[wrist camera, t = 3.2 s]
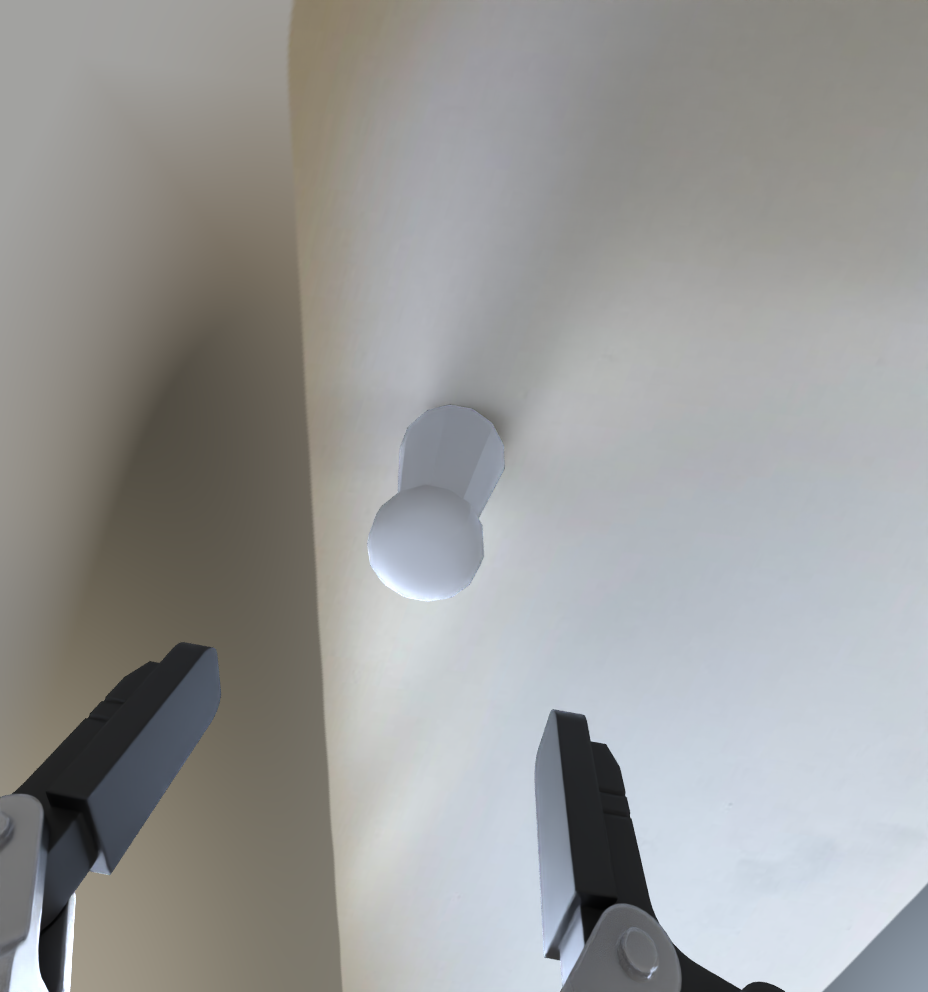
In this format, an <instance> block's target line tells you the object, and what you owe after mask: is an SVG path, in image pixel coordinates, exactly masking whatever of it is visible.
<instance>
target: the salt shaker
mask: <svg viewBox="0 0 928 992" xmlns="http://www.w3.org/2000/svg"><path fill="white" fill-rule="evenodd" d="M504 469H505V464H504V445H503V443H502V441H501V439H500V437H499V435H498V433H497V431H496V429H495V427H494V425H493V423H492V422H490V421H489V420H488V419H486V418H485V417H483V416H482V415H481V414H479V413H478V412H477V411H475V410H474V409H471V408H465V407H460V406H455V405H446V406H442V407H438V408H434V409H431V410H427V411H426V412H424V413H423V414H422V415H421V416H420V417H419V418H418V419H416V420H415V421H414V422H413V423H412V424H411V425H410V426H408V427H407V430H406V433H405V435H404V438H403V441H402V443H401V446H400V454H399V476H398V493H397V494H396V495H395V496H393V497H392V498H391V499H390V500H388V501H387V502H386V503H385V504H383V505H382V506H381V508H380V509H379V511H378V512H377V514H376V517H375V519H374V522H373V525H372V528H371V530H370V533H369V537H368V543H367V545H368V552H369V559H370V566H371V567H372V568H373V570H374V571H375V573H376V574H377V575H378V577H379V578H380V579H381V581H382V582H383V583H384V584H385V585H386V586H388V587H389V588H391V589H392V590H394V591H396V592H397V593H399V594H400V595H402V596H404V597H407V598H412V599H418V600H423V601H433V600H439V599H445V598H451V597H453V596H454V595H456V594H457V593H458V592H460V591H461V590H463V589H464V588H466V587H467V586H468V585H470V583H471V581H472V579H473V578H474V576H475V574H476V572H477V570H478V568H479V567H480V564H481V562H482V560H483V557H484V546H483V528H482V524H481V522H480V520H479V517H480V515H481V513H482V511H483V509H484V507H485V505H486V503H487V501H488V499H489V498H490V496H491V494H492V492H493V490H494V488H495V486H496V484H497V482H498V480H499V478H500V477H501V475H502V473H503V471H504Z"/></svg>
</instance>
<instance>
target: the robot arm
mask: <svg viewBox="0 0 928 992" xmlns="http://www.w3.org/2000/svg"><path fill="white" fill-rule="evenodd" d="M220 688H221V687H220V677H219V667H218V657H217V651H216V649H215V648H213V647H207V646H202V645H196V644H191V643H185V642H181V643H179V644H177V645H176V646H175V647H174V648H173V649H172V650H171V651H170V652H169V653H168V654H167V655H166V657H165V658H164V659H163V660H162V661H161V662H160V663H156V662H151V661H150V662H148V663H146V664H145V665H143V666H141V667H140V668H138V669H137V670H135V671H134V672H132V673H130V674H129V675H127V676H125V677H124V678H123V679H122V680H121V681H120V682H119V683H118V684H117V686H116V687H115V688H114V689H113V690H112V691H111V692H110V693H109V694H108V695H107V696H106V698H105V700H104V701H102V702H100V703H99V705H98V706H97V707H96V708H95V709H94V710H93V711H92V712H91V713H90V715H89V717H88V718H87V719H86V718H85V719H84V720H83V721H82V722H81V723H80V725H79V726H78V727H77V728H76V729H75V730H74V731H73V732H72V733H71V734H70V735H69V736H68V737H67V738H66V739H65V740H64V741H63V742H62V743H61V745H60V746H59V747H58V748H57V749H56V750H55V751H54V752H53V753H52V754H51V755H50V756H49V757H48V758H47V759H46V761H45V762H44V763H43V764H42V765H41V766H40V767H39V768H38V769H37V770H36V771H35V772H34V773H33V774H32V775H31V776H30V777H29V778H28V779H27V780H26V782H24V783H23V785H21V786H20V787H19V788H18V789H17V790H16V791H15V792H13V793H12V794H11V795H5V796H2V797H0V992H70V979H71V962H72V945H73V928H74V927H73V926H74V910H75V890H76V889H77V888H78V886H79V885H80V883H81V882H82V880H83V879H84V878H85V876H86V875H87V873H88V872H89V871H91V872H97V873H102V874H108V875H110V874H111V873H112V872H113V870H114V869H115V867H116V866H117V864H118V863H119V861H120V859H121V858H122V856H123V855H124V853H125V852H126V850H127V849H128V847H129V846H130V844H131V843H132V841H133V839H134V838H135V837H136V835H137V834H138V832H139V831H140V829H141V828H142V826H143V825H144V823H145V822H146V820H147V819H148V817H149V816H150V814H151V812H152V811H153V810H154V808H155V807H156V805H157V804H158V802H159V800H160V799H161V797H162V796H163V794H164V793H165V791H166V790H167V788H168V787H169V785H170V784H171V782H172V781H173V779H174V778H175V776H176V775H177V773H178V772H179V770H180V769H181V767H182V766H183V764H184V763H185V761H186V760H187V758H188V757H189V755H190V753H191V752H192V751H193V749H194V747H195V746H196V744H197V743H198V741H199V740H200V738H201V737H202V735H203V734H204V732H205V731H206V729H207V728H208V726H209V725H210V723H211V722H212V720H213V718H214V716H215V714H216V712H217V709H218V706H219V703H220V698H221V689H220ZM535 795H536V814H537V833H538V852H539V871H540V890H541V909H542V928H543V947H544V957H545V958H550V959H556V960H560V962H561V975H562V989H561V991H560V992H785V991H784V990H782V989H780V988H778V987H776V986H775V985H772V984H769V983H765V982H753V983H751V984H748V985H747V986H746V987H745V988H743V989H742V990H741V989H739V988H737V987H736V986H734V985H732V984H731V983H729V982H727V981H725V980H724V979H722V978H720V977H719V976H717V975H715V974H713V973H712V972H710V971H708V970H707V969H705V968H703V967H702V966H700V965H698V964H697V963H695V962H694V961H692V960H691V959H689V958H688V957H687V956H686V955H684V954H683V953H682V952H681V951H680V950H679V949H678V948H677V947H676V946H675V945H674V944H673V943H672V941H671V940H670V938H669V937H668V935H667V933H666V932H665V930H664V929H663V928H662V927H661V925H660V924H659V922H658V920H657V918H656V916H655V913H654V911H653V908H652V905H651V902H650V898H649V894H648V889H647V885H646V880H645V876H644V872H643V867H642V863H641V858H640V854H639V849H638V845H637V841H636V836H635V832H634V827H633V823H632V819H631V818H630V810H629V805H628V801H627V797H625V788H624V783H623V779H622V774H621V770H620V767H619V765H618V763H617V762H616V760H615V758H614V757H613V755H612V753H611V752H610V750H609V748H608V747H607V745H606V744H602V743H597V742H591V741H590V735H589V730H588V724H587V720H586V717H585V716H584V715H582V714H576V713H571V712H565V711H560V710H554V709H553V710H551V712H550V715H549V718H548V721H547V724H546V727H545V730H544V733H543V736H542V739H541V742H540V745H539V748H538V752H537V756H536V763H535Z"/></svg>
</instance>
